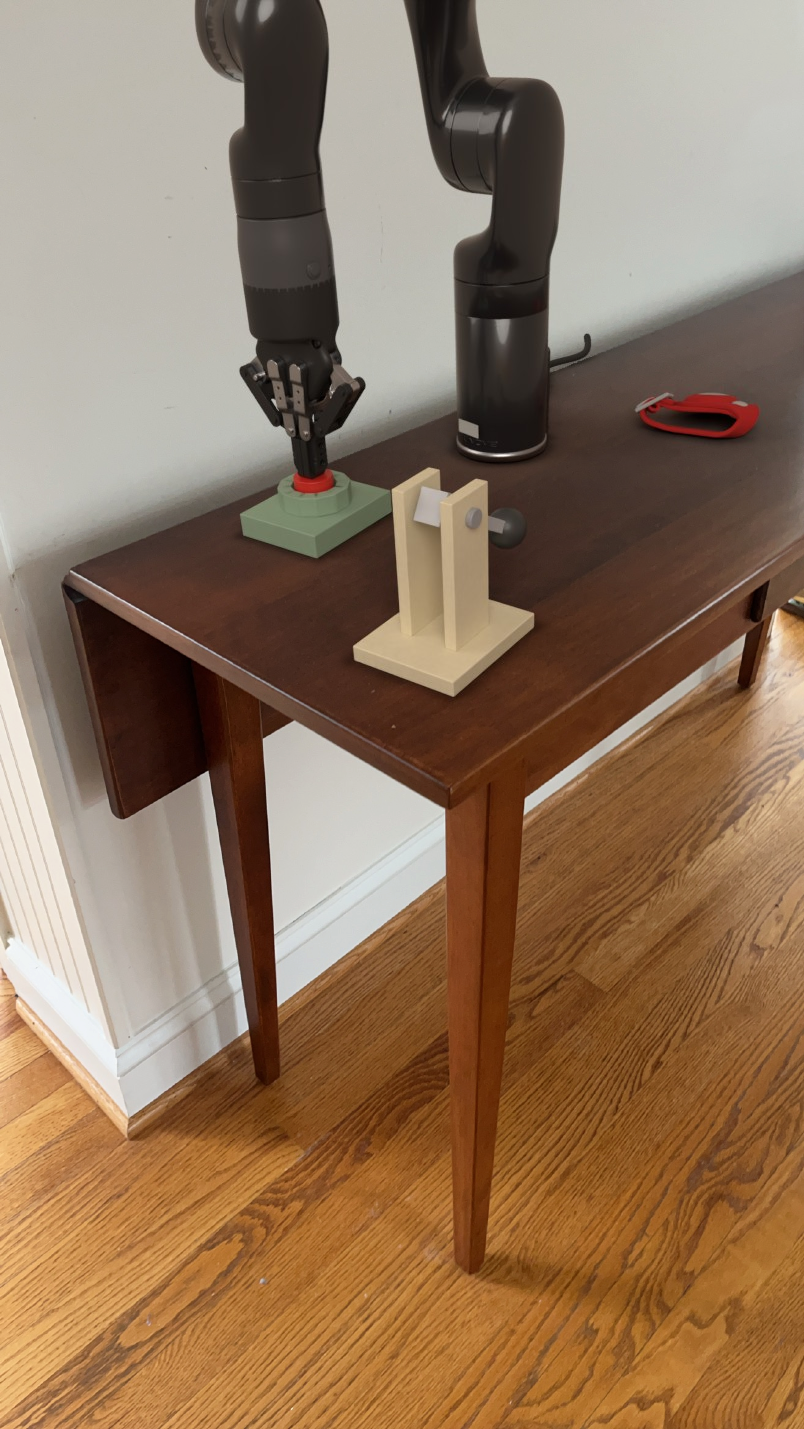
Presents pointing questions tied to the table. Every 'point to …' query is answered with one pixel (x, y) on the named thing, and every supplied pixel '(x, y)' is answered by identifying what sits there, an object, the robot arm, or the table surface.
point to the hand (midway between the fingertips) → (312, 474)
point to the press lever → (502, 523)
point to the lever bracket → (443, 594)
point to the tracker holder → (702, 403)
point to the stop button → (314, 483)
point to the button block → (316, 515)
